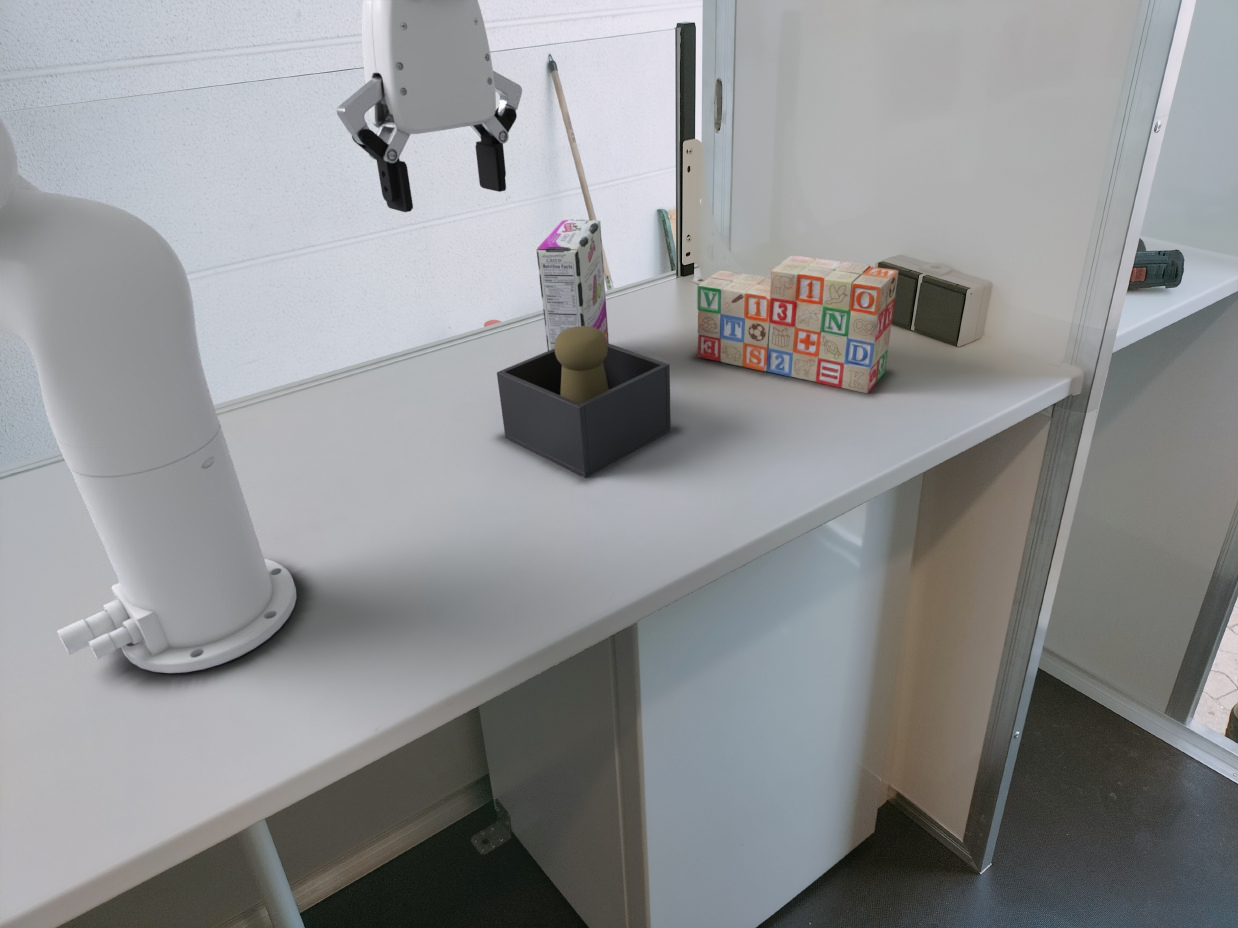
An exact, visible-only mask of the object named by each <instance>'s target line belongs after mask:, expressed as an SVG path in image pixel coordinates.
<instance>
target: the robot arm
mask: <svg viewBox="0 0 1238 928" xmlns="http://www.w3.org/2000/svg"><path fill="white" fill-rule="evenodd" d="M361 7H362V8H361V46H362V47H361V48H362V64H363V74H364V85H363V86H361V87H360V88H358V89H357V90H356V91H355V92H354V93H353V94H352V95H350V96H349V97H348V98H347V99H345V100H344V101H343V102H341V104H340V105H338V107H337V108H336V115H337V116H338V118H339V120H340V121H341V123H342V124H343V126H344V128H345V129H346V130H347V132H348V133H350V135H351V138H352V140H353V142H354V143H355V144H356V145H358V146H359V147H360V148H361V149H362V150H364V151H365V152H366V153H367V154H368V156H369V157H370V158H371V159H372V160H374V161H376V165H377V171H378V178H379V184H380V190H381V195H382V198H383V200H384V201H385V202H386V206H387V208H389V209H391V210H395V211H399V212H402V213H408V212H411V211H412V210H413V209H414V203H413V197H412V191H411V184H410V183H411V182H410V177H409V171H408V165H407V163H406V161H403V160H400V157H401V155H402V152H403V150H404V148H405V146H406V144H407V142H408V140H409V139H410V136H411V135H421V134H427V133H435V132H440V131H441V132H442V131H447V130H452V129H460V128H467V127H470V128H471V129H472V130H473V131H474V132H475V134H476V135H477V136H478V137H479V138H480V140H479V141H475V155H476V163H477V165H476V166H477V173H478V181H479V186H480V188H482V189H485V190H489V191H494V192H498V193H501V192H505V191H506V190H507V183H506V176H507V171H506V160H505V151H504V144H506V143H508V140H509V133H510V131H511V129H512V128H513V125H514V124H515V122H516V121H517V117H518V115H517V110H518V107H519V106H520V105H519V104H520V101H521V97H522V95H523V88H522V86H521V85H520V84H518V83H517V82H515V81H513V80H511V79H509V78H507V77H506V76H505V75H502V74H500V73H499V72H496V71H494V68H493V63H492V61H493V60H492V57H491V56H492V55H491V49H490V45H489V40H488V34H487V30H486V26H485V21H484V18H483V13H482V10H481V6H480V3H479V1H478V0H362V6H361ZM496 94H498V96H499V101H498V105H499V106H498V107H497V95H496ZM367 112H368V113H369V117H370V120H371V123H372V125H373V126H374V127H375V128H377V129H378V130H377V132H376V133H375V132H374V131H373V130H372V129H370V127H369V126H368V123H367V122H366V119H365V116H366V113H367ZM18 165H19V163H18V156H17V151H16V148H15V144H14V142H13V139H12V136H11V134H10V132H9V130H8V128H7V126H6V124H5V123H4V121H3V119H2V118H1V117H0V332H2V333H4V334H7V335H9V336H12V337H14V338H16V339H18V340H21V341H22V342H24V343H25V345H26V346H27V348H28V349H29V351H30V353H31V356H32V358H33V361H34V364H35V368H36V371H37V376H38V382H39V387H40V391H41V397H42V401H43V405H44V409H45V413H46V417H47V420H48V422H49V425H50V428H51V430H52V433H53V436H54V439H55V441H56V443H57V445H58V448H59V450H60V452H61V455H62V457H63V459H64V462H65V464H66V466H67V467H68V468H69V470H70V473H71V476H72V477H73V480H74V482H75V484H76V486H77V489H78V491H79V493H80V495H81V498H82V500H83V503H84V505H85V507H86V509H87V511H88V513H89V515H90V518H91V520H92V523H93V525H94V528H95V530H96V532H97V534H98V536H99V539H100V542H101V543H102V545H103V548H104V551H105V552H106V554H107V556H108V559H109V562H110V564H111V566H112V568H113V570H114V573H115V575H116V577H117V580H118V583H115V584H113V585H112V586H111V590H112V593H113V595H114V597H115V599H113V600H112V601H110V602H108V603H105V604H103V605H102V608H103V610H102V611H100V612H97V613H95V614H93V615H91V616H88V617H86V618H82V619H79V620H78V621H75V622H73V623H71V624H68V625H66V626H64V627H62V628H60V629H57V630H56V633H57V635H58V637H59V639H60V642H61V643H62V645H63V647H64V648H65V650H66V651H67V653H68V655H73V654H75V653H77V652H79V651H81V650H83V649H85V648H87V647H89V648H90V649H91V652H92V654H93V655H94V656H95V658H96V659H97V660H100V659H101V658H103V657H106V656H108V655H110V654H112V653H114V652H116V651H117V650H118V649H120V648H121V650H122V653H123V655H124V657H126V658H127V659H128V660H129V662H130V663H131V664H133V665H134V666H137V667H138V668H139V669H141V670H142V669H143V670H146V671H150V672H153V673H163V674H164V673H165V674H181V673H190V672H196V671H202V670H206V669H209V668H213V667H216V666H220V665H222V664H225V663H228V662H231V661H232V660H236V659H237V658H240V657H241V656H243V655H245V654H247V653H249V652H251V651H252V650H255V649H256V648H257V647H259V646H261V645H262V644H263V643H264V642H267V641H268V640H269V639H270V638H272V636H273V635H275V633H277V632H278V631H279V630H280V629H281V627H282V626H283V625H284V624H285V623H286V621H287V620H288V619H289V618H290V616H291V615H292V613H293V610H294V608H295V606H296V601H297V589H296V584H295V582H294V578H293V576H292V574H291V573H290V572H289V570H288V569H287V568H286V567H284V566H283V565H282V564H280V563H278V562H276V561H274V560H272V559H267V558H264V555H263V551H262V549H261V545H260V543H259V542H260V541H259V539H258V536H257V533H256V530H255V526H254V524H253V521H252V517H251V514H250V511H249V508H248V505H247V502H246V498H245V496H244V493H243V490H242V487H241V483H240V480H239V478H238V474H237V472H236V469H235V465H234V462H233V459H232V457H231V456H232V455H231V452H230V449H229V446H228V444H227V441H226V437H225V435H224V431H223V428H222V425H221V422H220V420H219V417H218V413H217V412H216V408H215V405H214V401H213V398H212V394H211V392H210V388H209V386H208V382H207V379H206V375H205V370H204V366H203V362H202V359H201V358H202V357H201V353H200V349H199V348H200V347H199V343H198V342H199V341H198V336H197V328H196V318H195V310H194V301H193V296H192V290H191V286H190V282H189V278H188V276H187V272H186V270H185V268H184V266H183V263H182V261H181V260H180V257H179V256H178V254H177V252H176V251H175V250H174V249H173V247H172V246H171V244H170V243H169V242H168V241H167V240H166V238H164V237H163V236H162V234H161V233H160V232H158V231H157V229H155V228H154V227H153V226H151V225H150V224H148V223H147V222H145V221H144V220H142V219H141V218H139V216H136V215H134V214H132V213H130V212H128V211H126V210H124V209H122V208H120V207H117V206H114V205H111V204H108V203H106V202H101V201H97V200H94V199H87V198H82V197H76V196H72V195H67V194H62V193H57V192H56V193H55V192H54V193H53V192H48V191H42V190H41V189H39V188H38V187H36V186H35V185H34V184H33V183H32V182H30V181H28V179H26V178H25V177H23V176H22V175H21V173H19V166H18Z"/></svg>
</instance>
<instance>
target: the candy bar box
mask: <svg viewBox="0 0 1238 928" xmlns="http://www.w3.org/2000/svg"><path fill="white" fill-rule="evenodd" d="M601 227H602V225H601V220H600V219H576V220H574V219H564V220H561V222H560V223H558V224H557V226H555V228H554V229H553V230H552V231H551V233H550V234H549V235H547V236H546V237H545V239H544V240H543V241H542V242H541V244H539V246H537V247H536V249H535V251H536V258H537V266H538V274H539V275H538V277H539V286H540V293H541V294H540V295H541V296H540V297H541V304H542V310H543V319H544V329H545V337H546V347H547V351H549V350H552V349H554V348H555V341H556V338H557V336H558V335H559V334H560V333H561V332H562V331H564V330H566V329H568V328H571V327H577V326H589V327H594V328H596V329H598V330H600V331H601V332H602V333H603V334H604V336H605V337H606V340H607V343H609V342H610V341H609V340H610V339H609V328H608V326H609V325H608V314H607V301H606V300H607V299H606V287H605V271H604V270H605V269H604V258H603V243H602V228H601ZM609 344H610V343H609Z"/></svg>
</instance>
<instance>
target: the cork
mask: <svg viewBox="0 0 1238 928" xmlns="http://www.w3.org/2000/svg"><path fill="white" fill-rule="evenodd" d="M607 351H608V348H607V340H606V337H605V336H604V334H603V333H602V332H601V331H600V330H598V329H596V328H594V327H589V326H577V327H571V328H568V329H566V330H564V331H562V332H561V333H560V334H559V335H558V336H557V338H556V341H555V355H556V357H557V360H558V361H559V362H560V363H561V365H562V373H561V394H560V396H563V397H565V398H567V399H570V400H572V401H574V402H577V403H579V404H581V403H583V402H585V401H587V400H589V399H591V398H593V397H595V396H598V395H600V394H602V393H604V392H606V391H608V390H609V389H608V384H607V379H606V374H605V370H604V365H603V361H604V359H605V358H606V356H607Z"/></svg>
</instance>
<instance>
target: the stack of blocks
mask: <svg viewBox="0 0 1238 928" xmlns="http://www.w3.org/2000/svg"><path fill="white" fill-rule="evenodd" d="M898 278H899V270H898V269H891V268H884V267H878V266H871V265H870V264H867V263H861V262H853V261H840V260H832V259H823V258H816V257H810V256H809V257H808V256H801V255H790V256H789V257H787V258H786V259H784V260H783V261H782V262H781V263H779V265H777V266H776V267H774V268H773V269H772V270H771V272H770V277H767V276H762V275H755V274H748V273H741V272H733V271H728V270H727V271H726V270H719V271H717V272H716V273H714V274H712V275H710V276H709V277H708V278H707V279H705V280H704V281H702V282H701V283H699V284H698V285H697V289H696V290H697V295H696V296H697V297H696V298H697V299H696V301H697V303H696V304H697V307H696V308H697V357H698V358H702V359H707V360H712V361H716V362H717V361H718V362H720V363H724V364H729V365H733V366H738V367H744V368H747V369H752V370H756V371H761V372H768V373H771V374H778V375H783V376H786V377H792V378H796V379H800V380H805V381H810V382H816V383H819V384H822V385H827V386H830V387H831V386H832V387H835V388H842V389H845V390H849V391H853V392H859V393H862V394H863V393H864V394H869V393H870V392H871V390H872V389H873V388H874V387H875V385H876V384H877V382H878V381H879V380H880V379H881V377H883V376H884V374H885V373H886V367H887V362H888V361H887V360H888V352H889V349H888V348H889V343H890V336H891V330H892V323H893V319H894V311H895V304H896V291H897V287H898V286H897V284H898Z"/></svg>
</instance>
